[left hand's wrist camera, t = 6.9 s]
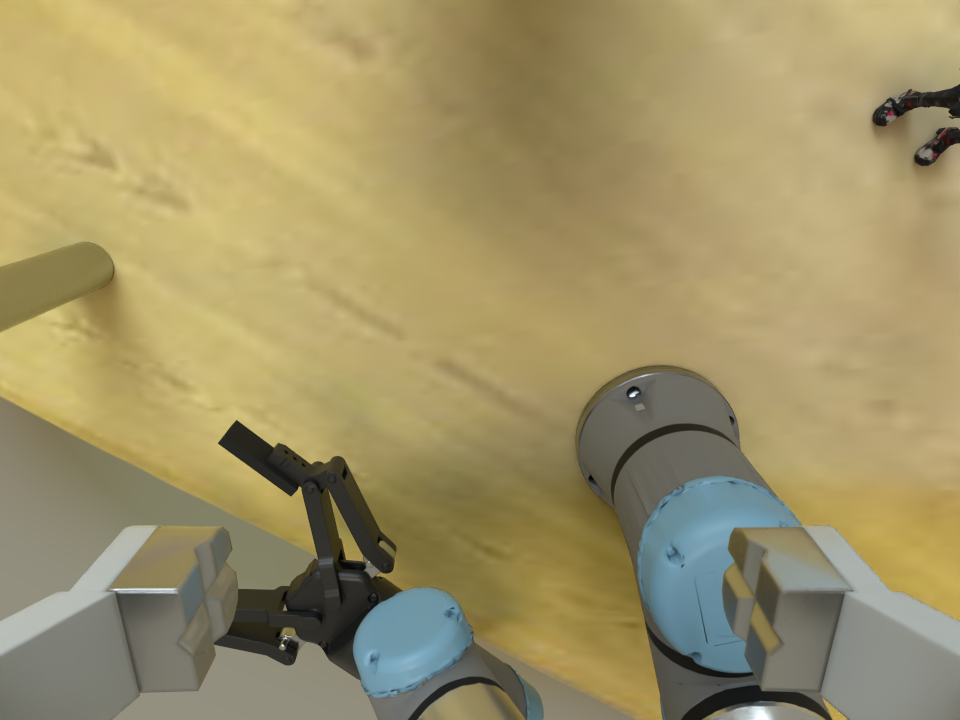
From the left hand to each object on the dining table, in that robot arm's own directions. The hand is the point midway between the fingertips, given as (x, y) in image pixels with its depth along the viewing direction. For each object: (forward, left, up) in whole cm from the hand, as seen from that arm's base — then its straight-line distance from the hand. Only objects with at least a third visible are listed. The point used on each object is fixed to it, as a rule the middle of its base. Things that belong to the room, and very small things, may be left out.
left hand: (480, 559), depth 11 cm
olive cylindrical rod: (+5, -35, -48) cm, 59 cm away
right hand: (+20, -23, -34) cm, 45 cm away
